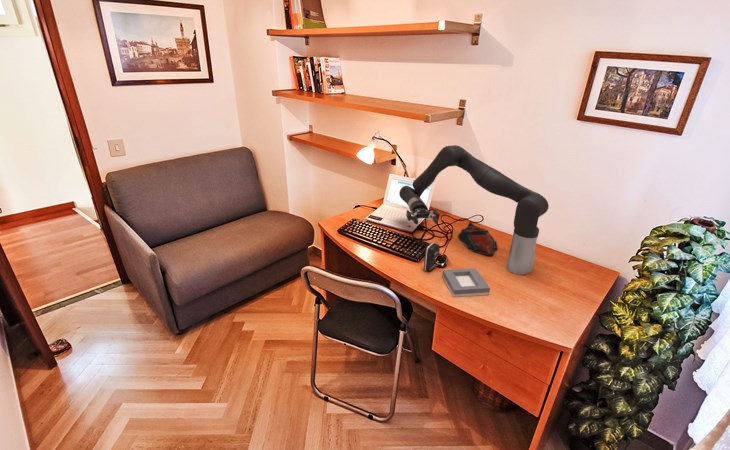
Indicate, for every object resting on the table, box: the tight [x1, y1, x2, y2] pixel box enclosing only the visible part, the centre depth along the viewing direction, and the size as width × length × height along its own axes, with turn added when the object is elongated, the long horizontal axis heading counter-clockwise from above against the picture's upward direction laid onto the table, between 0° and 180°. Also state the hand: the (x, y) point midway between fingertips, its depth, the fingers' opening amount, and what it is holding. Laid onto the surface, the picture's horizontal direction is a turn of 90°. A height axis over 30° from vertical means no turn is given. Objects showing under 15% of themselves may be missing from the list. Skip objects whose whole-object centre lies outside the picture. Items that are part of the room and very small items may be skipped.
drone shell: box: [457, 221, 498, 256], centre depth 175 cm, size 21×20×8 cm
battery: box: [423, 242, 441, 273], centre depth 153 cm, size 7×4×11 cm, turn 142°
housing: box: [441, 267, 491, 298], centre depth 144 cm, size 14×14×3 cm
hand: (426, 222), depth 158 cm, fingers open, 8 cm apart
